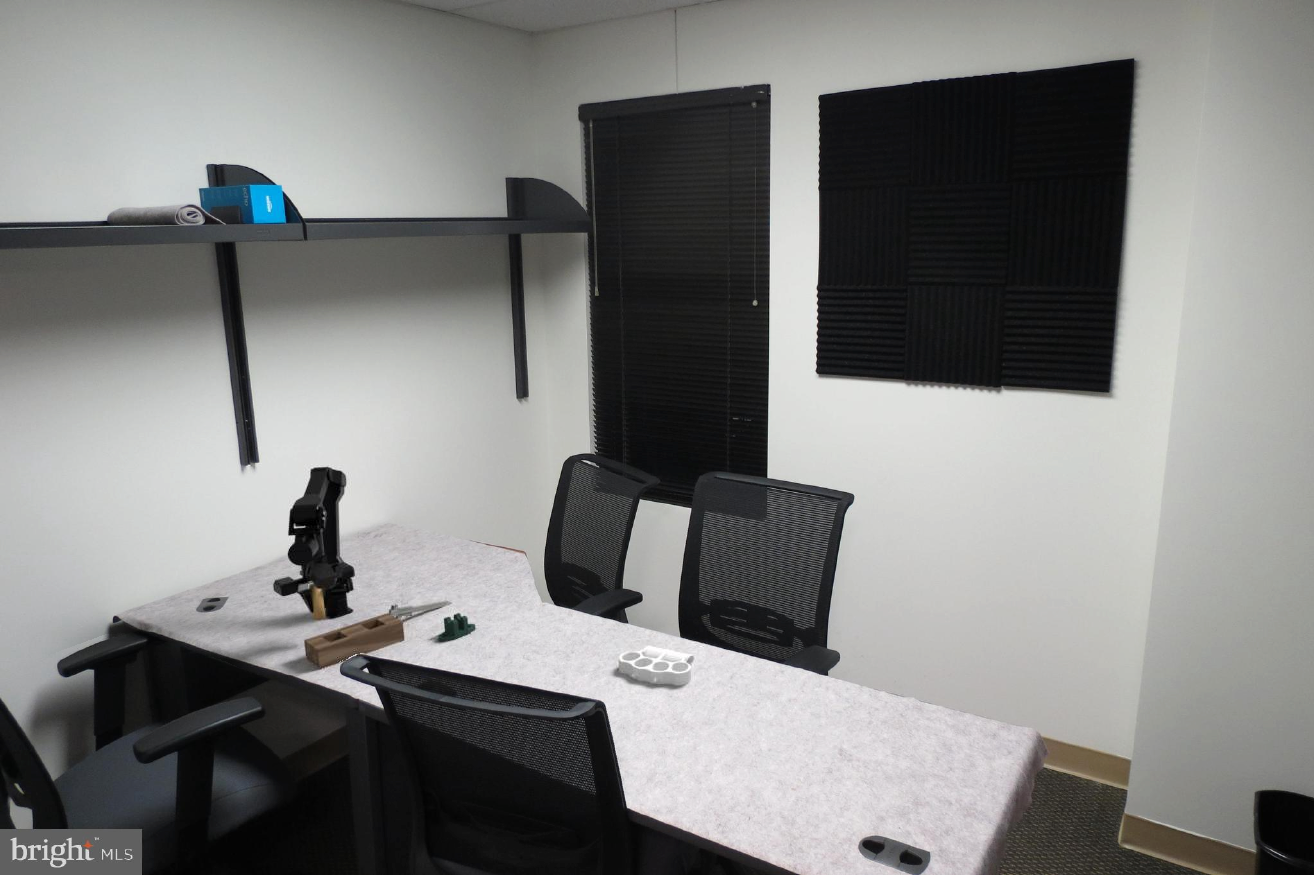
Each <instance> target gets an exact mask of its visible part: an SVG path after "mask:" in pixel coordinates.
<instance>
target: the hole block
mask: <svg viewBox="0 0 1314 875" xmlns="http://www.w3.org/2000/svg"><path fill="white" fill-rule="evenodd" d="M395 617H396V616H392V615H390V614H389V612H387V613H383V614H381V615H377V616H374V617H372V618H368V619H365V620H361V621H359V622H356V623H352V624H350V625H346V626H342V627H340V628H337V629H334V630H331V631H328V632H324V633H322V634H318V635H315V636H311V637H309V638H306V639H303V641H304V651H305V658H306V660H307V661H308V660H309V662H310V663H311V664H312V663H313V664H312V665H314V666H315V665H316V666H317V667H316V666H315V667H316V668H317V669H319V668H320V669H319V670H322V668H323V669H325V667H326V668H328V666H329V667H331V665H332V666H335V665H338V664H340V663H343V662H346V661H347V660H346V659H348V658H349V657H351V656H353V655H355V654H360V653H366V654H368V653H372V652H374V651H375V652H376V651H378V650H380V649H383V648H386V647H388V646H392V645H394V644H397V643H400V642H403V641H405V632H404V631H405V629H404V621H403V620H402V619H401V620H399V619H397V618H395ZM342 660H343V661H342ZM345 660H346V661H345ZM340 661H341V662H340ZM339 662H340V663H339Z"/></svg>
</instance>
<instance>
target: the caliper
mask: <svg viewBox="0 0 1314 875" xmlns="http://www.w3.org/2000/svg"><path fill="white" fill-rule="evenodd" d="M452 603H453V602H451V601H449V600H447V599H445V600H440V601H435V602H429V603H423V604H418V605H405V606H399V604H396V603H395V604H394V605H393V604H391V606H390V607H391V608H390V609H388V614H390V615H392V616H394V617H395V618H397V619H399V620H401V621H402V617H405V618H406V617H408V618H409V617H411V616H413V614H414V613H419V612H423V611H424V612H425V611H428V610H434V609H439V608H444V607H446V605H447V606H449V605H452ZM443 606H444V607H443Z"/></svg>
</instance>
